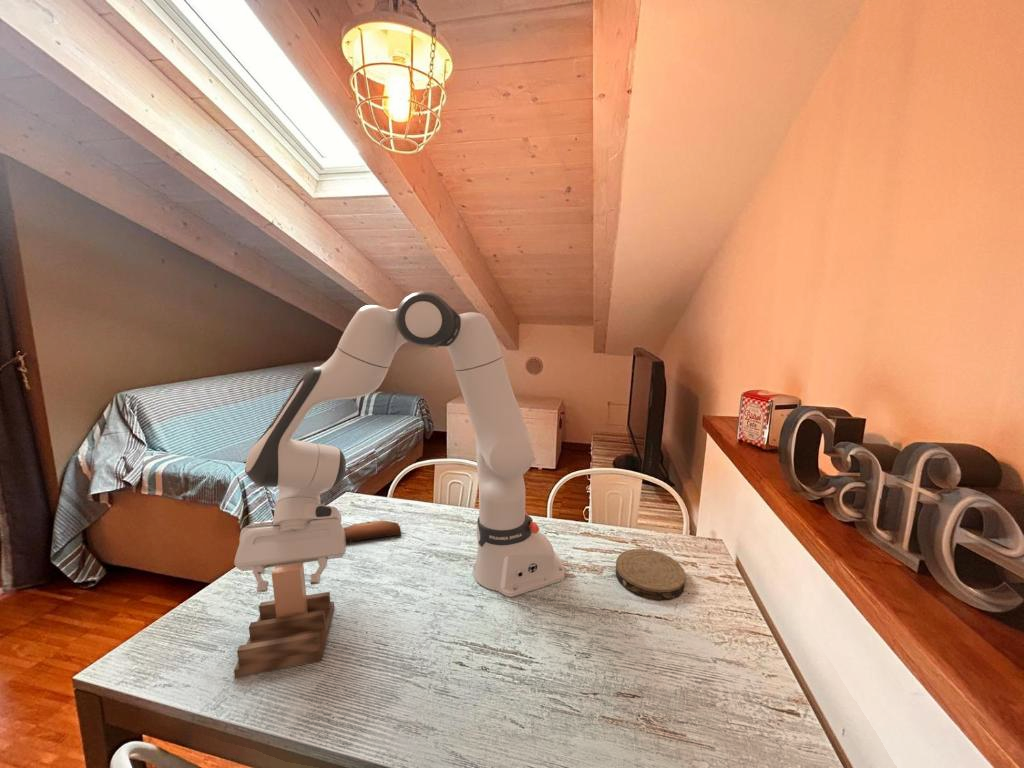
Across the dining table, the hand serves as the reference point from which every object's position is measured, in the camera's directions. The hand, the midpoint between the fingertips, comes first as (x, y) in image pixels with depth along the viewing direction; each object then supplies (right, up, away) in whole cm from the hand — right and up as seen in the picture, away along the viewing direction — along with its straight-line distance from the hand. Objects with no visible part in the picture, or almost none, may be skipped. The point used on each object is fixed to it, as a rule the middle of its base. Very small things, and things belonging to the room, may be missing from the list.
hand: (288, 587), depth 80 cm
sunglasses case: (+3, -4, +37) cm, 37 cm away
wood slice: (+77, -7, +18) cm, 80 cm away
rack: (+1, -10, -1) cm, 10 cm away
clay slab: (0, -8, +2) cm, 8 cm away
